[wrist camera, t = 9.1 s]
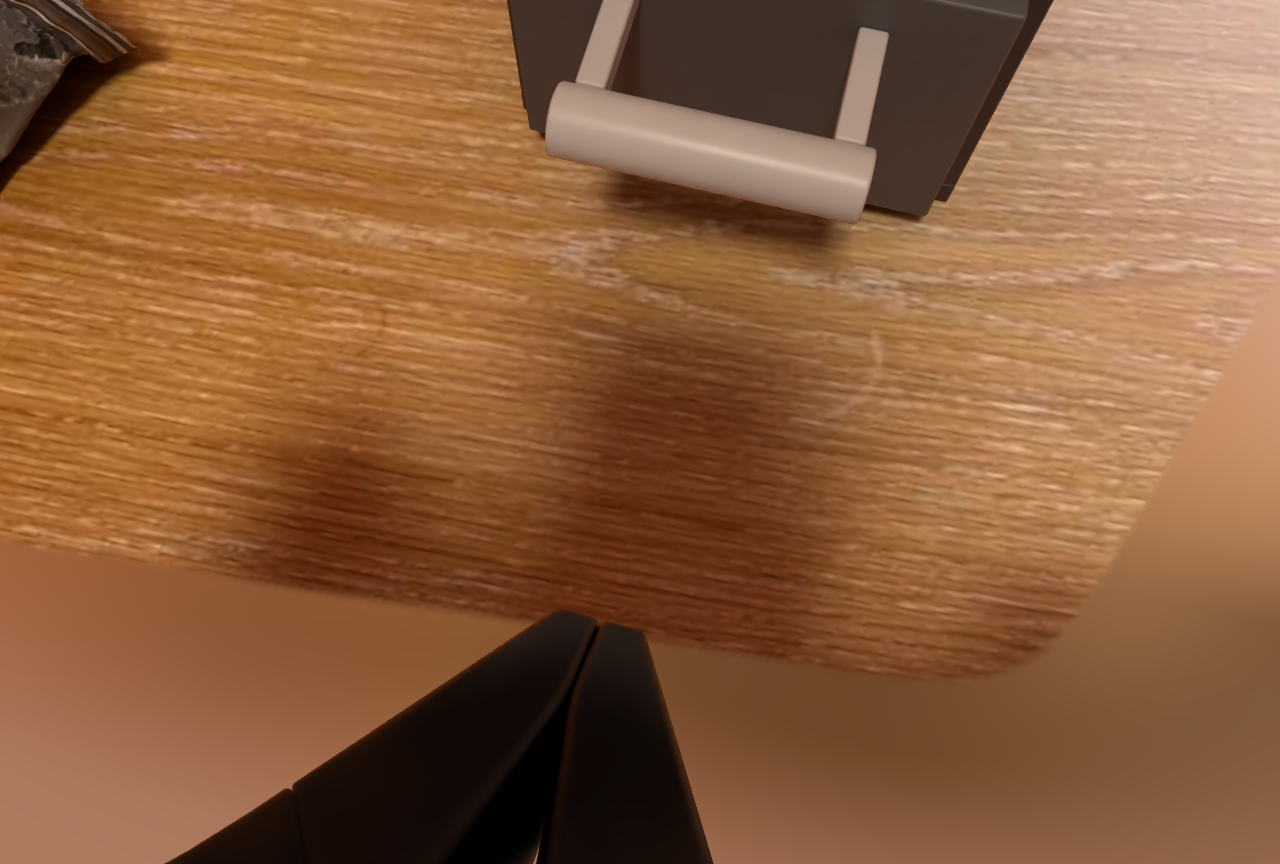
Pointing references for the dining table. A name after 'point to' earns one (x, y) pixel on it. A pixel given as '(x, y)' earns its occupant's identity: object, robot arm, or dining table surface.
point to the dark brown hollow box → (1035, 15)
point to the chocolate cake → (44, 55)
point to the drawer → (767, 93)
